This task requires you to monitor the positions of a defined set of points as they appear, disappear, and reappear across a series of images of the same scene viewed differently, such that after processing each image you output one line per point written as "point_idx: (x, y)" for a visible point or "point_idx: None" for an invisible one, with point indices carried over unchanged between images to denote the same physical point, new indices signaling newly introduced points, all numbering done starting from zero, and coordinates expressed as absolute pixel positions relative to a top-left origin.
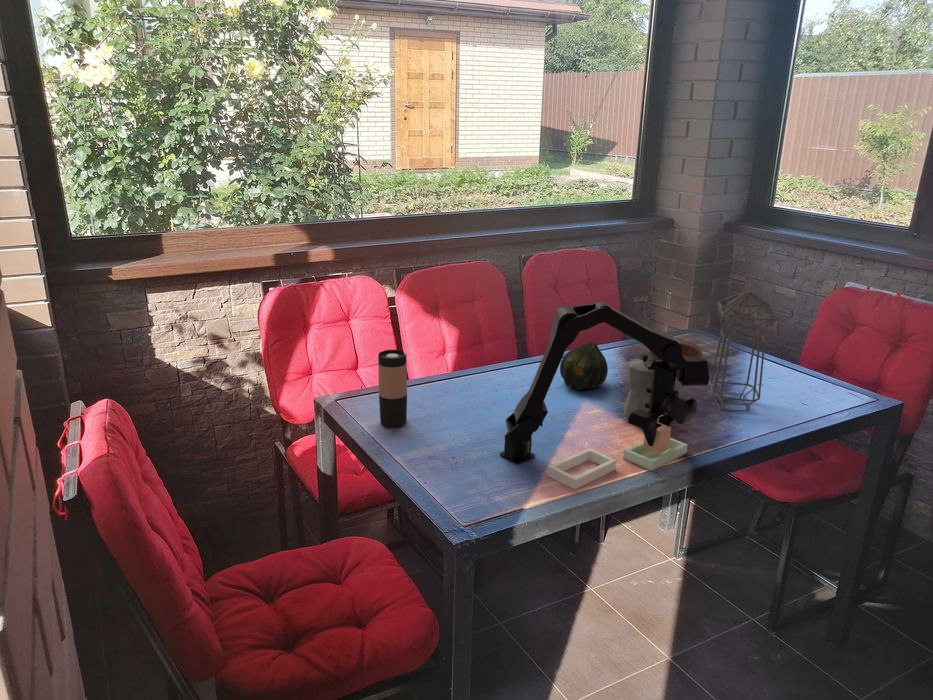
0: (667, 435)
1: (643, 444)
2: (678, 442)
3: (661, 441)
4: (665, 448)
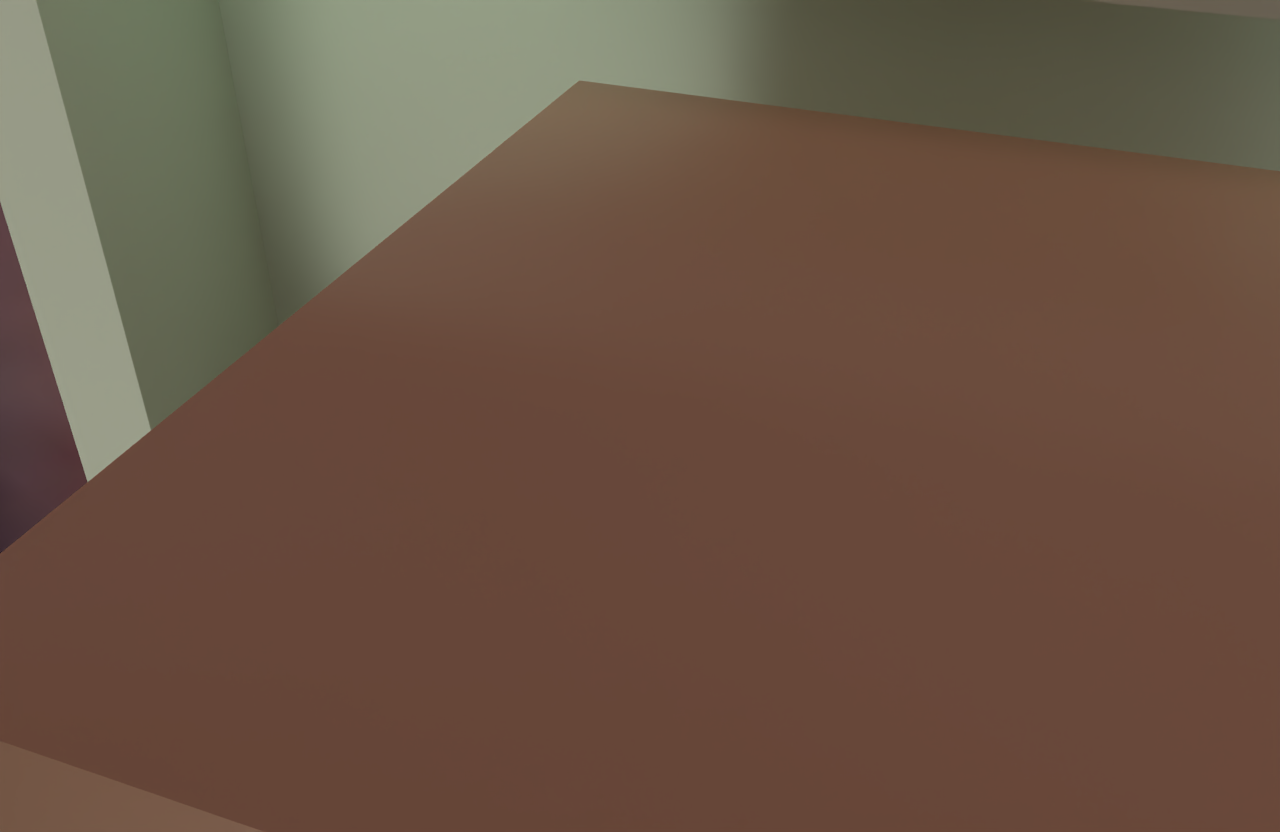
0: (486, 452)
1: None
2: (26, 50)
3: (1127, 451)
4: (772, 144)
